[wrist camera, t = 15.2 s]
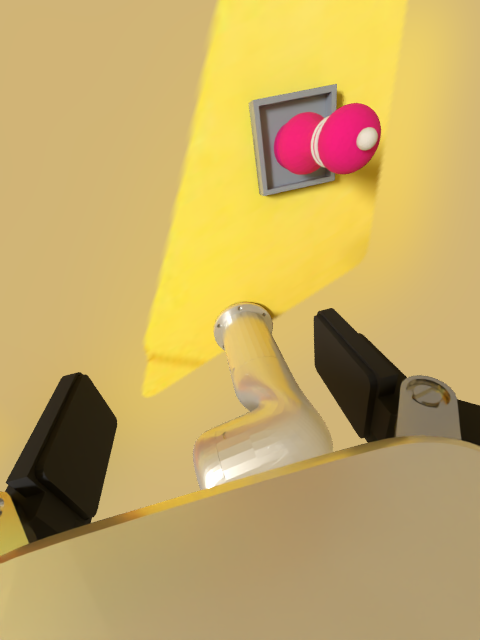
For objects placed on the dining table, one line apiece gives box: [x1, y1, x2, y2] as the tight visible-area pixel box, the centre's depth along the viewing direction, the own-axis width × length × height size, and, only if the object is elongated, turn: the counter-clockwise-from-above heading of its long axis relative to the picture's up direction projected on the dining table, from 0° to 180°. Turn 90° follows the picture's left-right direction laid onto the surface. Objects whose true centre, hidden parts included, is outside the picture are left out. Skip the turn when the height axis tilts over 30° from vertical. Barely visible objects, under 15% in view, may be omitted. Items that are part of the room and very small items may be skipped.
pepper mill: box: [274, 103, 381, 175], centre depth 32 cm, size 7×7×20 cm
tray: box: [249, 84, 337, 196], centre depth 40 cm, size 12×12×2 cm
